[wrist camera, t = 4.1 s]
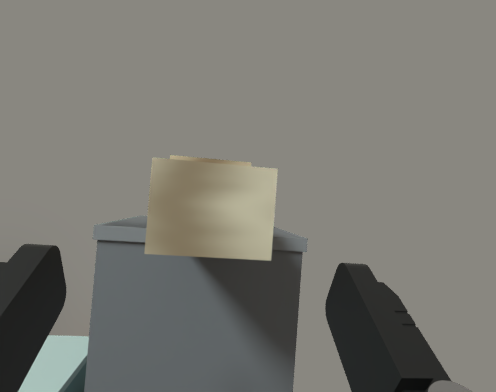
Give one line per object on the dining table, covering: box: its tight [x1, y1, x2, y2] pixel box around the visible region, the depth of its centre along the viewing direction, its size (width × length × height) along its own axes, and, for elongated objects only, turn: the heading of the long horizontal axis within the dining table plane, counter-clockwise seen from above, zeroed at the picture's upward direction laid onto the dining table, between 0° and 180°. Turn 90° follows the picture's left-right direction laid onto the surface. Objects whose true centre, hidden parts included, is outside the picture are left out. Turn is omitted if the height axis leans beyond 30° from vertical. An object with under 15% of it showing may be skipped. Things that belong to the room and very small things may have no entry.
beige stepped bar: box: [144, 155, 278, 261], centre depth 21 cm, size 6×22×5 cm, turn 8°
